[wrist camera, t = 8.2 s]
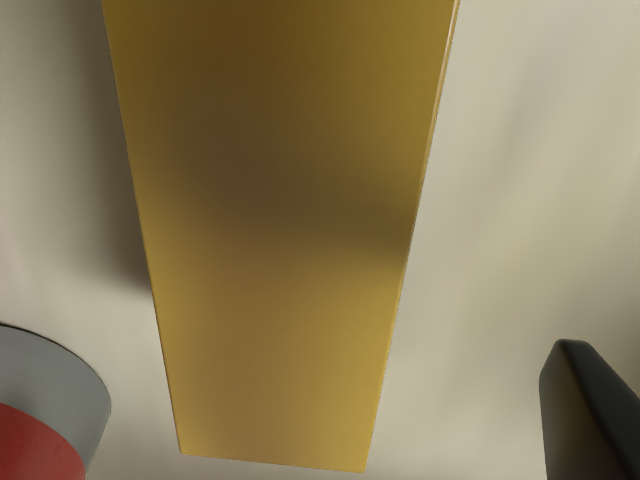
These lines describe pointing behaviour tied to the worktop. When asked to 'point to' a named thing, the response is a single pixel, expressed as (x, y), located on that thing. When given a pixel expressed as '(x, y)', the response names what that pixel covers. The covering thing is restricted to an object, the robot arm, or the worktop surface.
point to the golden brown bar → (278, 206)
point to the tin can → (47, 409)
